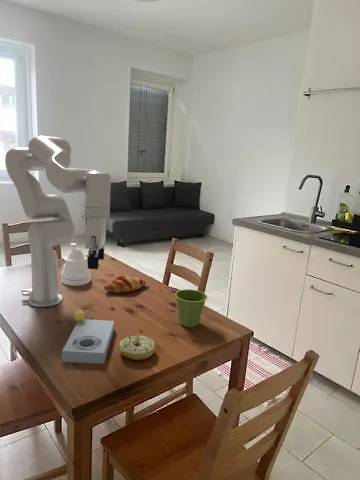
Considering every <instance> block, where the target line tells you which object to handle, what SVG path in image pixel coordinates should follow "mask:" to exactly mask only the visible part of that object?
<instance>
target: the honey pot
mask: <svg viewBox="0 0 360 480" xmlns="http://www.w3.org/2000/svg"><path fill="white" fill-rule="evenodd" d="M69 244H70V247H71V248H72V249H71V250H70V252H69V253H68V255H65V256H64V258H63V260H64V261H65V262H64V264H63V266H62V270H61V273H60V277H61V280H60V281H61V283H63V284H64V285H67V286H76V287H77V286H84V285H87V284H89V283H90V282H91V280H92V279H91V278H92V277H91V275H92V274H91V269H88V256H85V254H84V252H83V251H82V249H80V248H79V247H77V243H75V242H70V243H69Z"/></svg>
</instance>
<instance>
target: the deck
mask: <svg viewBox="0 0 360 480" xmlns="http://www.w3.org/2000/svg"><path fill="white" fill-rule="evenodd" d="M114 331H115V320H107V319H106V320H104V319H103V320H102V319H88V318H87V319H85V318H84V319H83V320H81V321H77V322H76V324H75V326H74V328H73V329H72V331H71V333H70V335H69V337H68V339H67V341H66V342H65V345H64V346H63V348H62V350H61V361H62V363H78V364H79V363H81V364H82V363H83V364H98V365H99V364H100V365H102V364H103V365H104V364H105V361H106V358H107V354H108V351H109V348H110V344H111V342H112V341H111V340H112V338H113V335H114Z"/></svg>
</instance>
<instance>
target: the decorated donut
mask: <svg viewBox="0 0 360 480" xmlns="http://www.w3.org/2000/svg"><path fill="white" fill-rule="evenodd" d="M155 347H156V345H155V341H154V340H153V339H152V338H150V337H148V336H146V335H130V336H127V337H125V338H123V339H122V340H121V341H120V342H119V353H120V354H121V356H123V357H125V358H127V359H130V360H133V361H134V360H136V361H141V360H146V359H148V358H150V357H151V356H152V355H153V354H154V352H155V349H156V348H155Z"/></svg>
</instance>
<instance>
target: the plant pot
mask: <svg viewBox="0 0 360 480" xmlns="http://www.w3.org/2000/svg"><path fill="white" fill-rule="evenodd" d="M174 297H175V298H176V302H177V310H178V313H177V314H178V322H179V323H178V324H179V325H181V326H183V327H184V328H195V327H197V326H199V323H200V321H201V320H200V319H201V316H202V312H203V308H204V306H205V303H206V301H207V300H208V298H209V296H208V294H206V293H204V291H203V292H202V291H200V290H197V289H190V288H189V289H188V288H187V289H179V290H177V291H176V292H175V296H174Z"/></svg>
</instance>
